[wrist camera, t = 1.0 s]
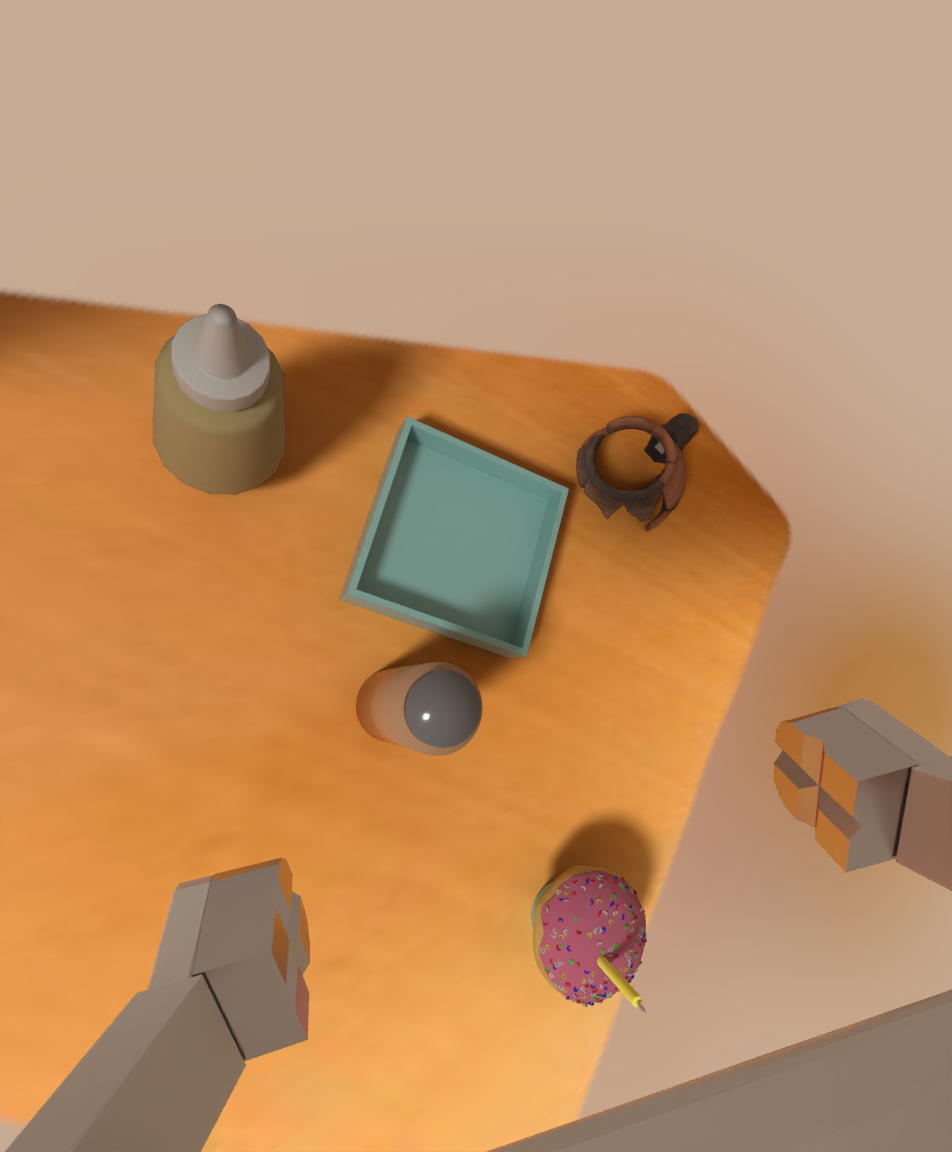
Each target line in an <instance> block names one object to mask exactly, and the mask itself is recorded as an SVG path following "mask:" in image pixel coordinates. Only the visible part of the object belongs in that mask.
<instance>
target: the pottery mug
mask: <svg viewBox="0 0 952 1152" xmlns="http://www.w3.org/2000/svg"><path fill="white" fill-rule="evenodd" d="M624 429H638V430H642V431H645V432H647V433H649V434H651V439H650V440H649V442H648V445H647V446H646V447H645V449H644V451H645V452H646V453H647V454H648V455H649V456H650V457H651V458H652V460H653V461H654V462H659V463H664V464H666V465H665V468H664V469H663V470H662V472H661V474H660V475H658V476H657V477H656V480H657V481H656V482H655V483H654V484H652V485H651V486H649V487H647V488H645V489H641V490H636V491H622V490H619V489H616V488H614V487H613V486H611V485H609V484H608V483H606V482H605V481H604V480H603V479H602V478H601V476H600V475H599V473H598V471H597V468H596V464H595V454H596V451H597V448H598V446H599V445H600V443H601V440H602V439H603V438H604V437H605V436H607V435H608V434H611V433H614V432H616V431H619V430H624ZM698 430H699V424H698V422H697V419H696V418H694V417H692V416H691V415H690V414H684V413H681V414H678V415H677V416H675V417H674V418H672V419H671V420H670V421H669V422H667V423H666V424H664V425H659V424H657V423H655V422H653V421H650V420H647V419H644V418H640V417H622V418H618V419H615V420H613V421H610V422H609V423H607V427H605V428H603V429H602V430H600V431H597V432H595V433H593V434H592V435H591V436H590V437H589V438H588V439H587V440H586V441H585V442H584V443H583V445H582V447H581V448H580V449H579V451H578V454H577V463H576V469H577V477H578V481H579V485H580V487H583V488H585V489H584V492H585V494H586V495H587V496H588V497H589V498H590V499H591V500H593V502H595V503H596V504H597V505H598V507H599V508H600V509H601V510H602V513H603V515H604V516H605V517H606V519H609V517H610V516H611V515H612V514H613V513H614V512H615V511H616V510H617V509H618V508H620V507H621V506H623V505H625V507H626V509H627V511H628V512H629V513H630V514H631V515H633V516H635V517H637V519H638V520H639V521H646V520H649V519H650V518H651V514H652V511H653V509H654V508H655V506H656V502H657V500H658V498H659V495H660V493H662V496H663V505H662V508H661V511H660V513H659V514H658V516H657V517H656V518H655V520H653V521H652V522H650V524H649V525H647V526H646V527H645V530H646V531H649V530H651V529H653V528H655V527H656V526H658V525H659V524H661V523H662V522H663V521H664V520H665V519H666V518H667V517H668V515H669V514H670V513H671V511H673V510H674V509H675V508H676V506H677V504H678V503H679V501H680V499H681V497H682V494H683V491H684V486H685V476H686V467H685V463H684V462H683V454H682V451H683V448H684V446H685V445H686V444H687V443H688V442H689V441H690V440H691V439H692V438H693V437H694V435H695V434H696V433H697V432H698Z"/></svg>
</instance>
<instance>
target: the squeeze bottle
mask: <svg viewBox="0 0 952 1152" xmlns="http://www.w3.org/2000/svg"><path fill="white" fill-rule="evenodd" d="M153 443H154V445H155V447H156V450H157V452H158V454H159V456H160V458H161V460H162V462H163V465H164V466H165V467H166V468H167V469H168V470H169V471H170V472H172V473H173V474H174V475H175V476H176V477H177V478H178V479H179V480H180V481H181V482H183V483H184V484H186V485H188V486H191V487H193V488H196V489H198V490H201V491H203V492H206V493H208V494H233V495H236V494H239V493H242V492H244V491H247V490H250V489H253V488H256V487H259V486H260V485H261V484H262V483H264V482H265V481H266V480H267V479H268V478H269V477H270V476H271V475H272V474H274V473H275V472H276V471H277V469H278V466H279V464H280V462H281V459H282V457H283V455H284V452H285V410H284V375H283V372H282V370H281V368H280V366H279V364H278V362H277V360H276V357H275V355H274V354H273V353H272V352H271V351H270V350H269V349H268V348H267V346H266V344H265V342H264V340H263V338H262V337H261V336H260V335H259V334H258V333H257V332H256V331H255V330H254V329H253V328H252V327H251V326H250V325H249V324H248V323H246V322H244V321H242V320H239V319H237V317H236V314H235V312H234V311H233V310H232V309H231V308H230V307H229V306H226V305H223V304H217V305H214V306H212V307H211V308H210V310H209V312H208V314H205V315H200V316H196V317H193V318H191V319H190V320H189V321H187V322H186V323H185V324H183V325H182V326H180V327H179V329H178V331H177V333H176V335H175V336H173V337H172V338H170V339H169V340H168V341H166V343H165V344H164V346H163V348H162V350H161V352H160V354H159V356H158V358H157V360H156V362H155V387H154V413H153Z"/></svg>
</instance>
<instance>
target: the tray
mask: <svg viewBox="0 0 952 1152" xmlns="http://www.w3.org/2000/svg"><path fill="white" fill-rule="evenodd" d="M568 491H569V489H568V488H566V487H564V486H562V485H559V484H557V483H555V482H553V481H550V480H548V479H546V478H544V477H542V476H539V475H537V474H535V473H533V472H530V471H528V470H526V469H524V468H521V467H519V466H517V465H515V464H513V463H510V462H508V461H506V460H504V459H501V458H499V457H497V456H495V455H492V454H490V453H488V452H486V451H483V450H481V449H479V448H477V447H475V446H472V445H470V444H468V443H466V442H463V441H461V440H459V439H457V438H454V437H452V436H450V435H448V434H446V433H443V432H441V431H439V430H437V429H434V428H432V427H430V426H428V425H425V424H423V423H421V422H419V421H417V420H414V419H412V418H410V417H408V416H407V418H406V419H405V421H404V422H403V424H402V425H401V427H400V428H399V430H398V431H397V433H396V436H395V439H394V442H393V445H392V448H391V451H390V454H389V457H388V460H387V462H386V465H385V468H384V471H383V474H382V477H381V480H380V483H379V486H378V489H377V492H376V494H375V497H374V500H373V503H372V506H371V509H370V512H369V515H368V518H367V521H366V524H365V526H364V529H363V532H362V535H361V538H360V541H359V544H358V547H357V550H356V553H355V556H354V559H353V561H352V564H351V567H350V570H349V573H348V576H347V579H346V582H345V585H344V588H343V591H342V593H341V596H340V599H339V600H342V601H345V602H348V603H351V604H354V605H357V606H359V607H362V608H365V609H368V610H371V611H374V612H377V613H380V614H383V615H385V616H388V617H391V618H394V619H397V620H400V621H403V622H406V623H409V624H412V625H414V626H417V627H420V628H423V629H426V630H429V631H432V632H435V633H438V634H440V635H443V636H446V637H449V638H452V639H455V640H458V641H461V642H464V643H466V644H469V645H472V646H475V647H478V648H481V649H484V650H487V651H490V652H493V653H495V654H498V655H501V656H504V657H507V658H519V657H527V653H528V649H529V645H530V641H531V638H532V634H533V630H534V626H535V622H536V618H537V614H538V610H539V606H540V602H541V598H542V594H543V590H544V586H545V582H546V578H547V574H548V570H549V566H550V562H551V558H552V554H553V550H554V546H555V542H556V538H557V534H558V531H559V527H560V523H561V519H562V515H563V511H564V507H565V503H566V499H567V495H568Z"/></svg>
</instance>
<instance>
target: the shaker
mask: <svg viewBox="0 0 952 1152" xmlns="http://www.w3.org/2000/svg"><path fill="white" fill-rule="evenodd" d="M356 712H357V716H358V719H359V722H360V724H361V726H362V727H363V728H364V730H365V731H366V732H367V733H368V734H369V735H371V736H372V737H374V738H376V739H378V740H381V741H384V742H388V743H391V744H394V745H398V746H401V747H405V748H408V749H411V750H415V751H418V752H421V753H425V754H429V755H437V756H439V755H447V754H450V753H453V752H456V751H457V750H459V749H461V748H462V747H464V746H465V745H466V744H467V743H468V742H469V741H470V740H471V739H472V737H473V736H474V734H475V733H476V731H477V729H478V727H479V724H480V721H481V716H482V700H481V695H480V691H479V689H478V687H477V685H476V683H475V681H474V680H473V679H472V677H471V676H470V675H469V674H468V673H467V672H466V671H464V670H463V669H462V668H460V667H458V666H456V665H454V664H451V663H447V662H432V663H425V664H418V665H411V666H403V667H396V668H389V669H384V670H381V671H378V672H376V673H374V674H373V675H371V676H370V677H369V678H368V679H367V680H366V681H365V682H364V684H363V685H362V687H361V688H360V690H359V693H358V696H357V701H356Z"/></svg>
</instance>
